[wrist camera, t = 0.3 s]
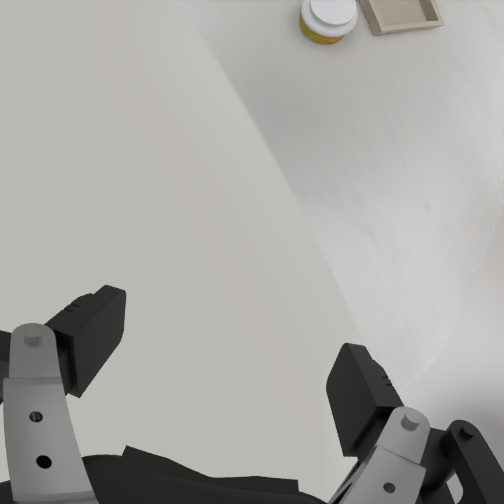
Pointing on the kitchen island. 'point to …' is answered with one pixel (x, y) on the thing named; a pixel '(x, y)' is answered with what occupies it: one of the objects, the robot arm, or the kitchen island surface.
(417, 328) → the kitchen island surface
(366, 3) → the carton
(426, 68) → the kitchen island surface
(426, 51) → the kitchen island surface
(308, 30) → the supplement bottle
